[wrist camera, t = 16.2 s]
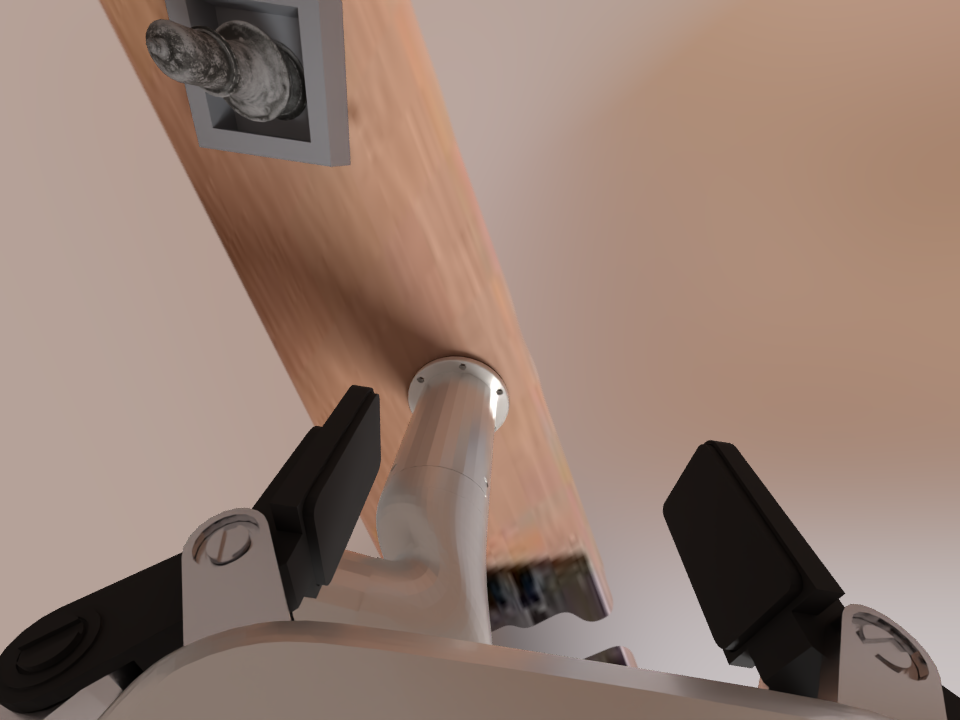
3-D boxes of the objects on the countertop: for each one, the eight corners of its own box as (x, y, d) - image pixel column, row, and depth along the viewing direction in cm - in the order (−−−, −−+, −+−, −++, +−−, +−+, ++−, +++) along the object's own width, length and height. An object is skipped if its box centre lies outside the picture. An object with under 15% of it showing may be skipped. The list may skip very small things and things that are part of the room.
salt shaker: (291, 141, 31) (181, 136, 21) (229, 84, 30) (75, 48, 19) (325, 79, 29) (220, 40, 19) (259, 12, 27) (103, -72, 17)
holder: (350, 164, 33) (331, 166, 29) (232, 147, 33) (199, 147, 29) (342, 1, 27) (316, -21, 24) (199, -20, 27) (154, -44, 24)
